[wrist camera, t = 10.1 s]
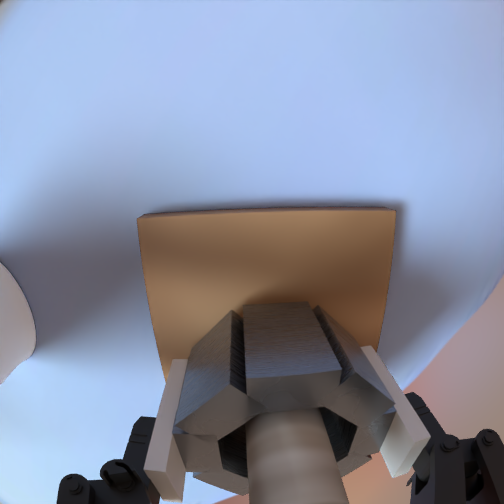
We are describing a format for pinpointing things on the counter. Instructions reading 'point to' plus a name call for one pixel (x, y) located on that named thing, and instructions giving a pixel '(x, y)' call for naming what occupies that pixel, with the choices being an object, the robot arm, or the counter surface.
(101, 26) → the counter surface
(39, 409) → the counter surface
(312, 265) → the post block
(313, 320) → the ring
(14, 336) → the mug
